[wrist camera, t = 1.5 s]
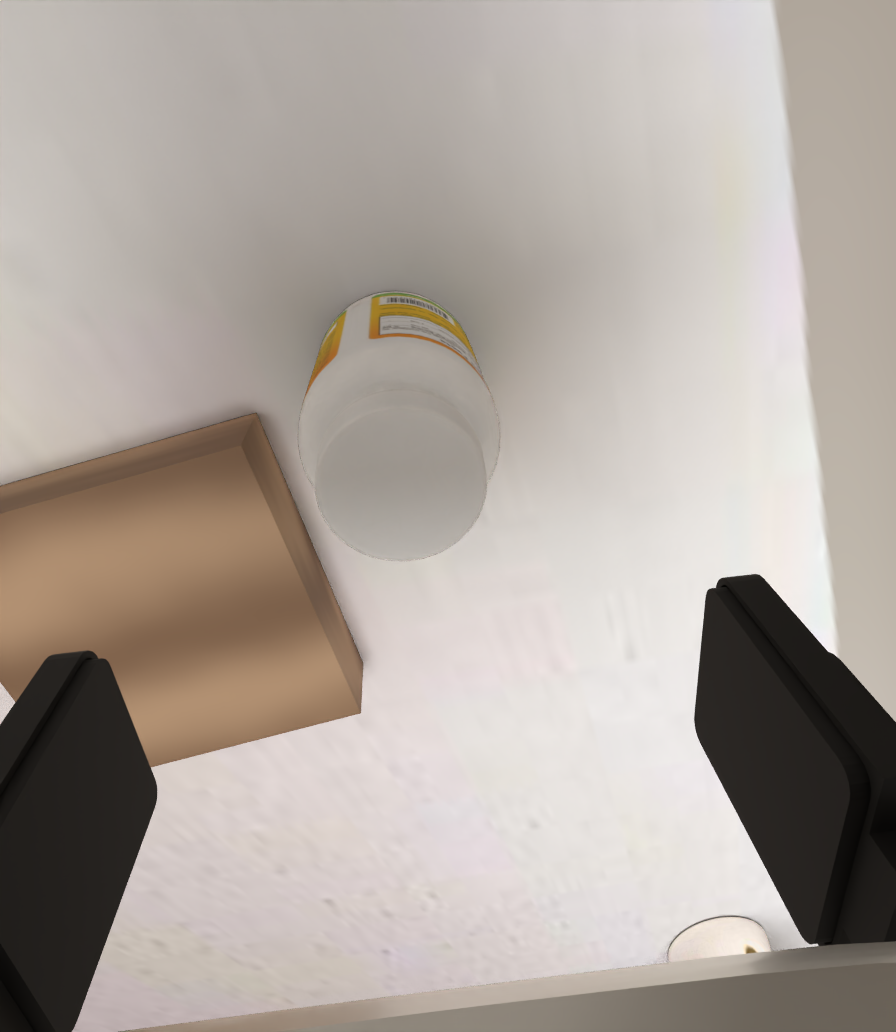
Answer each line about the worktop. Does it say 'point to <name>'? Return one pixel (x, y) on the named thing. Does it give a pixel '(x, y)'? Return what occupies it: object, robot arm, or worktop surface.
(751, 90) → the worktop surface
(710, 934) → the beer glass
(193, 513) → the walnut block
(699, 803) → the worktop surface
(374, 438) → the supplement bottle
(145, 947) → the worktop surface
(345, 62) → the worktop surface
